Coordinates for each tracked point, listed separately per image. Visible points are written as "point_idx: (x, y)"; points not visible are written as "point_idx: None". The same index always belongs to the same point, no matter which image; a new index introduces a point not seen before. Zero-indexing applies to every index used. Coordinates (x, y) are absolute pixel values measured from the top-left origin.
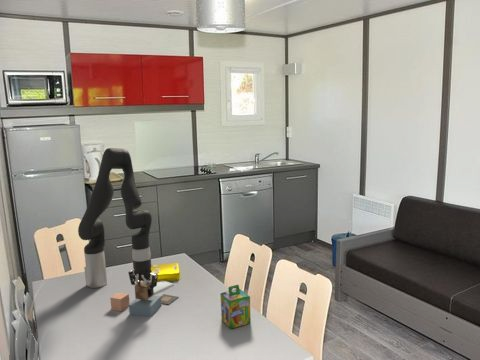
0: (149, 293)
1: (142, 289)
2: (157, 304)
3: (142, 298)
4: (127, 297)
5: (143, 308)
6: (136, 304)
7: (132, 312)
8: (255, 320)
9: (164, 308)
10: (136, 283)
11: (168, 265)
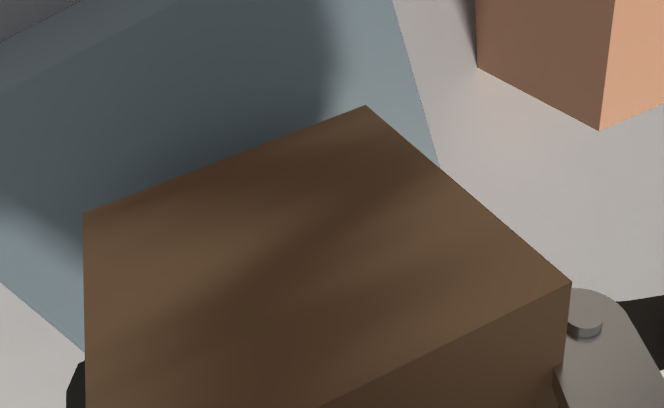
0: None
1: (214, 386)
2: None
3: (186, 191)
4: (568, 81)
5: (36, 59)
6: (241, 27)
7: None
8: None
9: (40, 324)
10: (607, 398)
11: None
